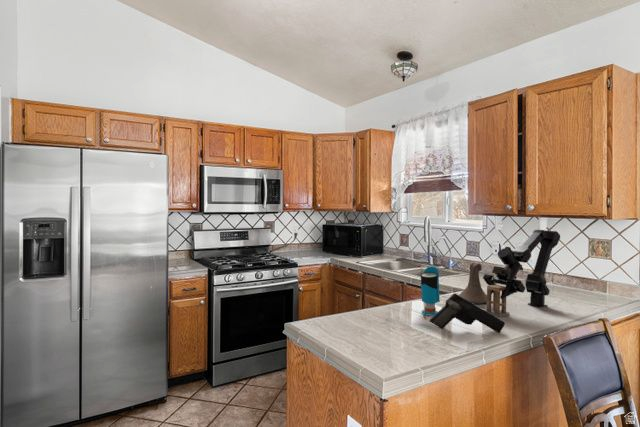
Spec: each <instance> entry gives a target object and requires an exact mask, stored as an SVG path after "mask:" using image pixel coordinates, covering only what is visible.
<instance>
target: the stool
mask: <svg viewBox="0 0 640 427" xmlns="http://www.w3.org/2000/svg"><path fill="white" fill-rule="evenodd" d="M505 288H506V286H505V285H501V284H500V285H499V284H496V285H488V284H487V285H486V295H487V303H486V309H487V312H491V309H493V310H494V311H495V314H500V310H501V313H506V311H507V297H505V298H503V299H501V298H500V297H501V294H502V293H503V291H504V289H505ZM492 290H493V293H492Z"/></svg>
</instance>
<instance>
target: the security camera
mask: <svg viewBox="0 0 640 427" xmlns="http://www.w3.org/2000/svg"><path fill="white" fill-rule="evenodd" d="M439 272H440V271H439V268H438V267H435V266H427V267H426V268H425V270H424V271H423V272H422V273H421V274H420V289H421V292H420V293H421V301H422V303H425V306H424V309H422V310H421V314H423V315H427V316H434V315H435V314H436V313H438V312H439V310H438V311H437V308H436V304H437V303H440V300H441V297H440V280H439V279H440V274H439Z"/></svg>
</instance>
